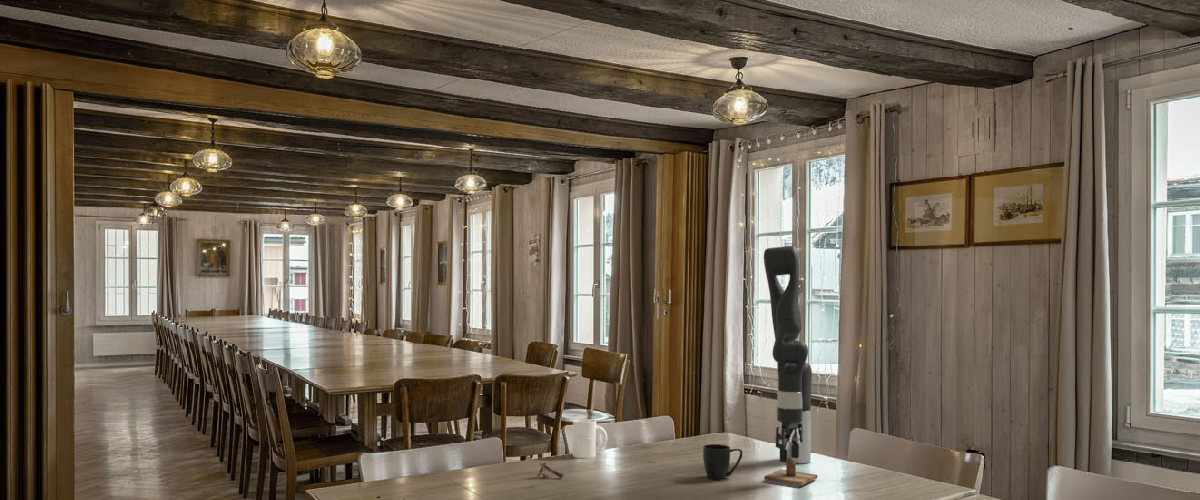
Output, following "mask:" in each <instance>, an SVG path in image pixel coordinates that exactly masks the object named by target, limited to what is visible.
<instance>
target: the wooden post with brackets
mask: <svg viewBox="0 0 1200 500" xmlns="http://www.w3.org/2000/svg"><path fill="white" fill-rule="evenodd" d="M539 465H540V467H541V468H540V470H539V471H538V474H537V476H538V477H540V475H541V476H542V477H543V478H545V479H549V478H550V476H549V474H546V473H543V472H544V471H546V470H547V471H548V472H550V473H551V474H554V475H555V476H557V477H558V478H559V479H560V480H562V479H563V478H564V475H565V472H562V473H561V472H559V471H558V470H557V471H556V469H554V468H552V467H551V466H548V465H547V463H546V462H540V463H539Z"/></svg>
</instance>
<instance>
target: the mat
mask: <svg viewBox="0 0 1200 500" xmlns="http://www.w3.org/2000/svg"><path fill="white" fill-rule="evenodd" d="M765 483H766V484H767V483H768V484H773V485H779V486H784V487H789V488H796V489H797V488H800V487H802V486H801V485H795V484H789V483H783V482H777V481H771V480H765Z"/></svg>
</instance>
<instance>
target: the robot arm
mask: <svg viewBox="0 0 1200 500" xmlns="http://www.w3.org/2000/svg"><path fill="white" fill-rule="evenodd" d="M763 264H764V269H765V276H766V281H767V285H768V286H767V287H768V291H769V292H768V293H769V298H770V299H769V301H770V310H771V319H772V327H773V333H774V334H773V335H774V339H775V340H774V344H773V347H772V357H773V359H774V362H776V366H777V379H778V381H777V382H778V383H777V384H778V385H777V389H778V391H777V397H776V399H777V401H776V412H777V413H776V420H777V421H778V422H780V423H781V427H779V426H778V427H776V428H775V429H776V431H775V447H776V448H777V449H778V450H779V462H780V463H786V462H787V458H795V459H796V464H807V463H811V448H812V447H811V445H812V444H811V443H812V442H811V436H812V435H811V433H812V432H811V431H812V429H811V425H812V424H811V423H812V422H811V421H812V420H811V415H812V414H811V406H812V405H811V403H812V380H813V379H812V378H813V376H812V375H813V374H812V373H813V370H812V367H811V365H810V363H808V362H807V358H808V356H809V348H808V345H807V344H806V343H805V341H802V340H797V339H798V337H799V336H800V333H801V331H802V319H801V318H802V317H801V311H800V308H799V295H800V269H801V268H800V255H799V252H798V249H797V247H796V246H794V245H788V246H776V247H774V246H773V247H769V248H765V250H764V252H763ZM787 275H788V276H789V279H788V283H787V285H786V288H785V289H784V288H783V286H782V285H781V283H780V281H779V279H778V276H787Z"/></svg>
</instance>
